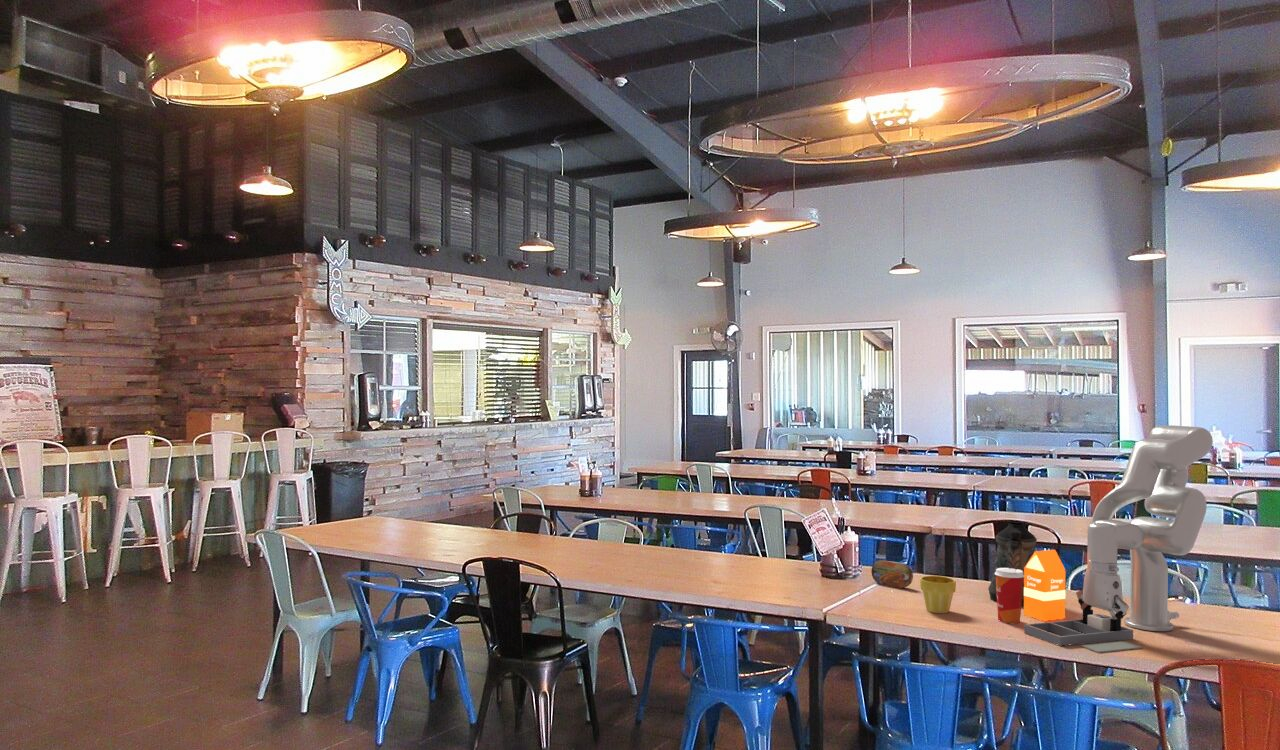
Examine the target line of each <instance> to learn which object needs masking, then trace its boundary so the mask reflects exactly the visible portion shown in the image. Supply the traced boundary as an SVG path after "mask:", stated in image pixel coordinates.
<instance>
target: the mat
mask: <svg viewBox="0 0 1280 750" xmlns="http://www.w3.org/2000/svg"><path fill="white" fill-rule="evenodd" d="M1079 645H1080V646H1082V647H1081V648H1083V647H1085V648H1087V649H1086V650H1088V649H1089V650H1088V651H1091V652H1094V653H1098V654H1101V653H1103V654H1104V653H1113V652H1121V651H1122V650H1123V651H1130V649H1133V650H1140V649H1141V648H1142V649H1143V646H1141V645H1137V644H1135V643H1132V642H1129V641H1127V640H1119V641H1109V642H1099V643H1089V644H1079ZM1085 648H1084V649H1085Z"/></svg>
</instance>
